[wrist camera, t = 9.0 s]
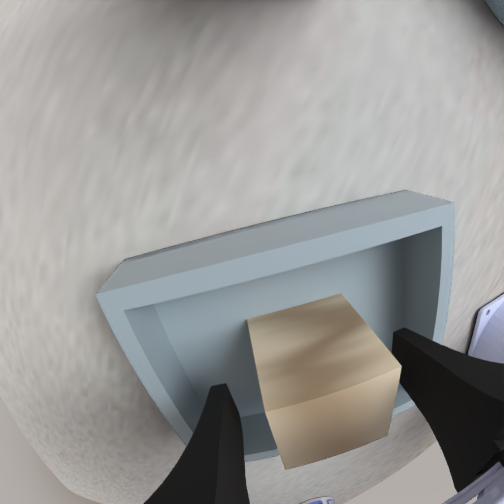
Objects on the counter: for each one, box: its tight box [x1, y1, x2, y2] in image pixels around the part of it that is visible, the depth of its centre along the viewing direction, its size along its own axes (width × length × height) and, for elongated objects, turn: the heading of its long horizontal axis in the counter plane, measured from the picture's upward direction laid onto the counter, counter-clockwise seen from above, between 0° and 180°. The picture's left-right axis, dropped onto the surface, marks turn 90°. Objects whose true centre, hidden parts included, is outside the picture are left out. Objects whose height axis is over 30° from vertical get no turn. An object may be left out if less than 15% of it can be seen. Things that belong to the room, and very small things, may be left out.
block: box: [247, 293, 402, 470], centre depth 11 cm, size 4×4×6 cm
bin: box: [95, 190, 455, 462], centre depth 12 cm, size 14×12×4 cm
